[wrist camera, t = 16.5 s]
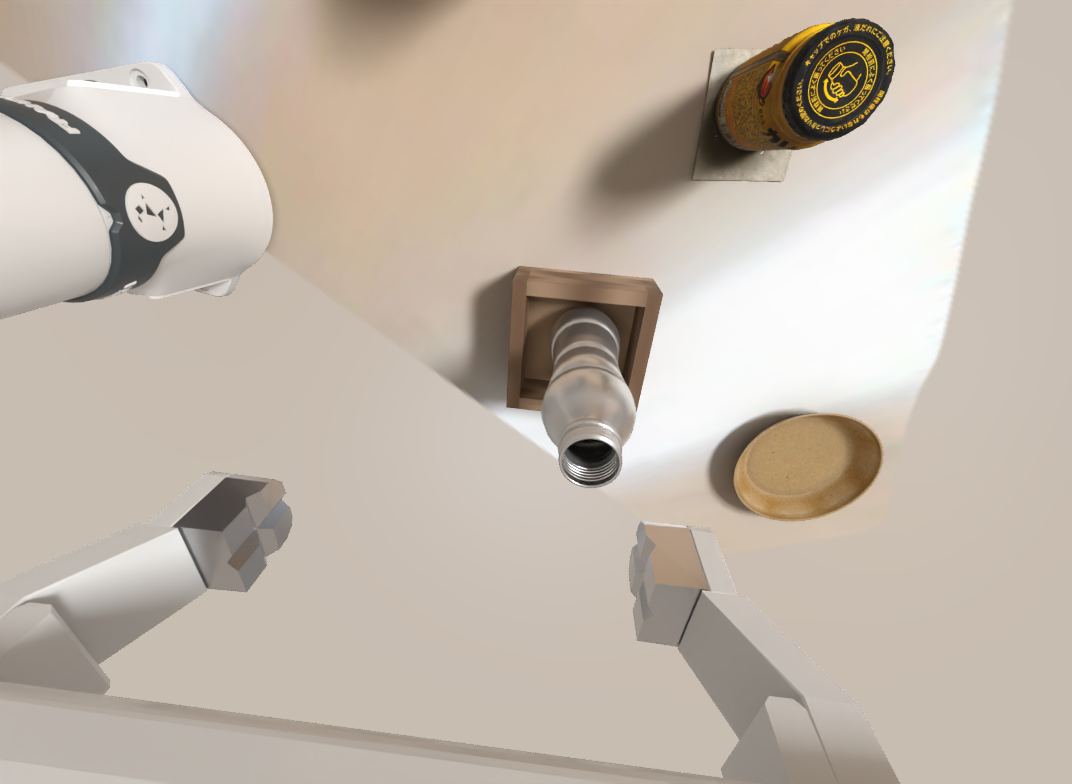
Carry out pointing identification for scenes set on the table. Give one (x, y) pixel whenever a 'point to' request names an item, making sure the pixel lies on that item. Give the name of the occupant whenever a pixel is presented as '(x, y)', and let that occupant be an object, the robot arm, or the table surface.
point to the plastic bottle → (587, 398)
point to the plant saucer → (808, 466)
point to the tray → (558, 291)
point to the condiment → (790, 98)
